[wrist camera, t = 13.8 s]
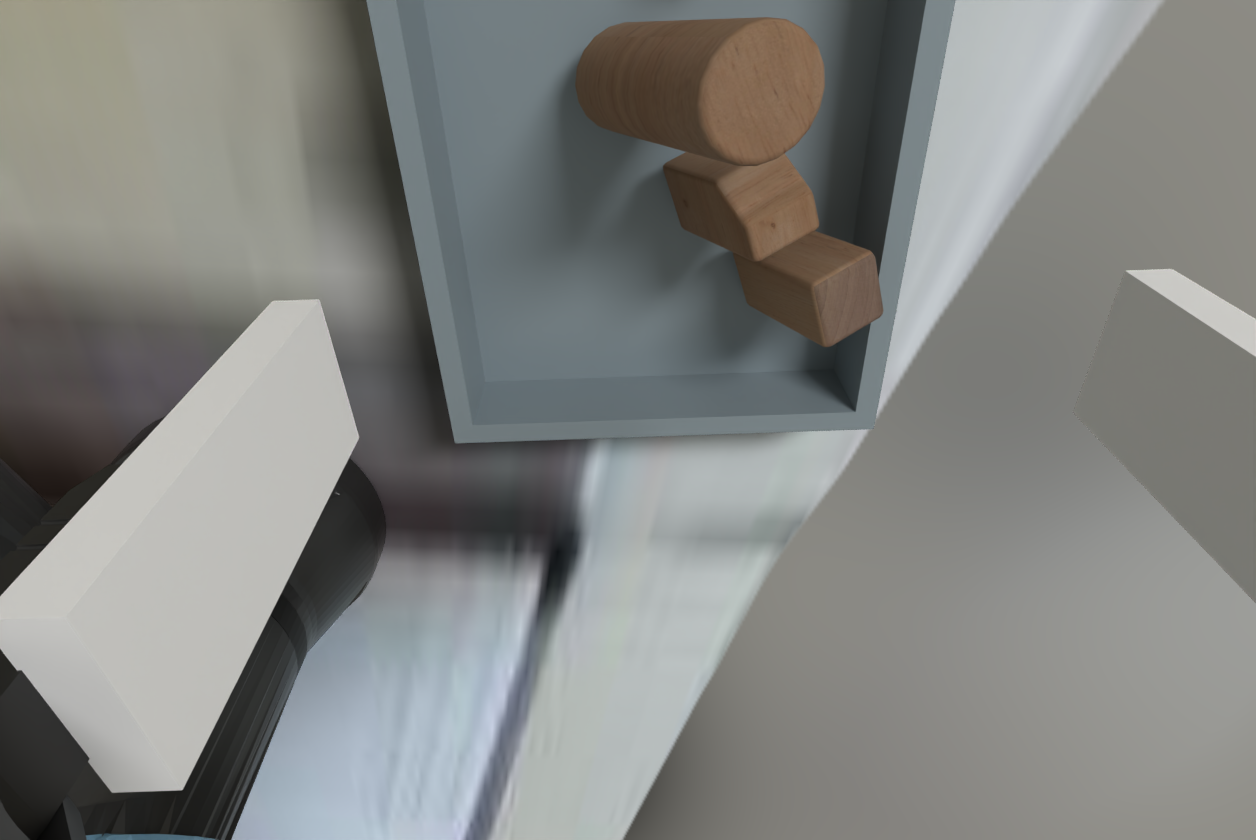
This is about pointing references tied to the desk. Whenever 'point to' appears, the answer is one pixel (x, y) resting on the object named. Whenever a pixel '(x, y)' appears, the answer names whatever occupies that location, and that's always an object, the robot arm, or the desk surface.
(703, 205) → the wooden block set
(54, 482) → the desk surface
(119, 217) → the desk surface
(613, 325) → the crate
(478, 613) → the desk surface
